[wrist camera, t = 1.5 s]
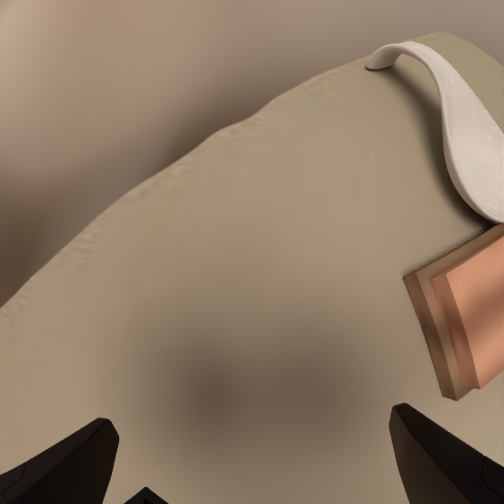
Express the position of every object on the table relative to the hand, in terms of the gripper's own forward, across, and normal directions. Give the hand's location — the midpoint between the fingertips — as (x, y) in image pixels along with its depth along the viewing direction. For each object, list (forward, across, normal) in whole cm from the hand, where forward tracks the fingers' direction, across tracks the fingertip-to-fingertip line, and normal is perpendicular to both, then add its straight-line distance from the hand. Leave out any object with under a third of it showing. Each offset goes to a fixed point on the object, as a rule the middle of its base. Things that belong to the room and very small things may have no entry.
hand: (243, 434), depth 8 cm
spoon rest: (+24, -21, -10) cm, 34 cm away
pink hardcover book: (+16, -20, +6) cm, 27 cm away
